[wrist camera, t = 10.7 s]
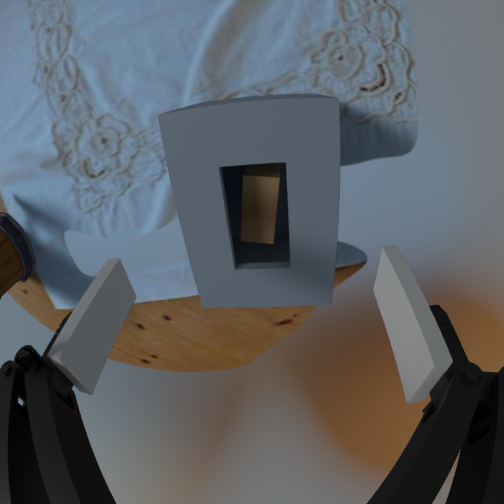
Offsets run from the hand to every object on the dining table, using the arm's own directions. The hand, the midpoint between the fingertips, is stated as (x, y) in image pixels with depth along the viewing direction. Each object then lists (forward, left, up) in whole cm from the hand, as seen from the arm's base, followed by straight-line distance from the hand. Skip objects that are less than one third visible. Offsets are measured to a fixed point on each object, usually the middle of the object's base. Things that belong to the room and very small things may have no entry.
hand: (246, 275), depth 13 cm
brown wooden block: (+1, 0, -17) cm, 17 cm away
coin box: (0, 0, -17) cm, 17 cm away
